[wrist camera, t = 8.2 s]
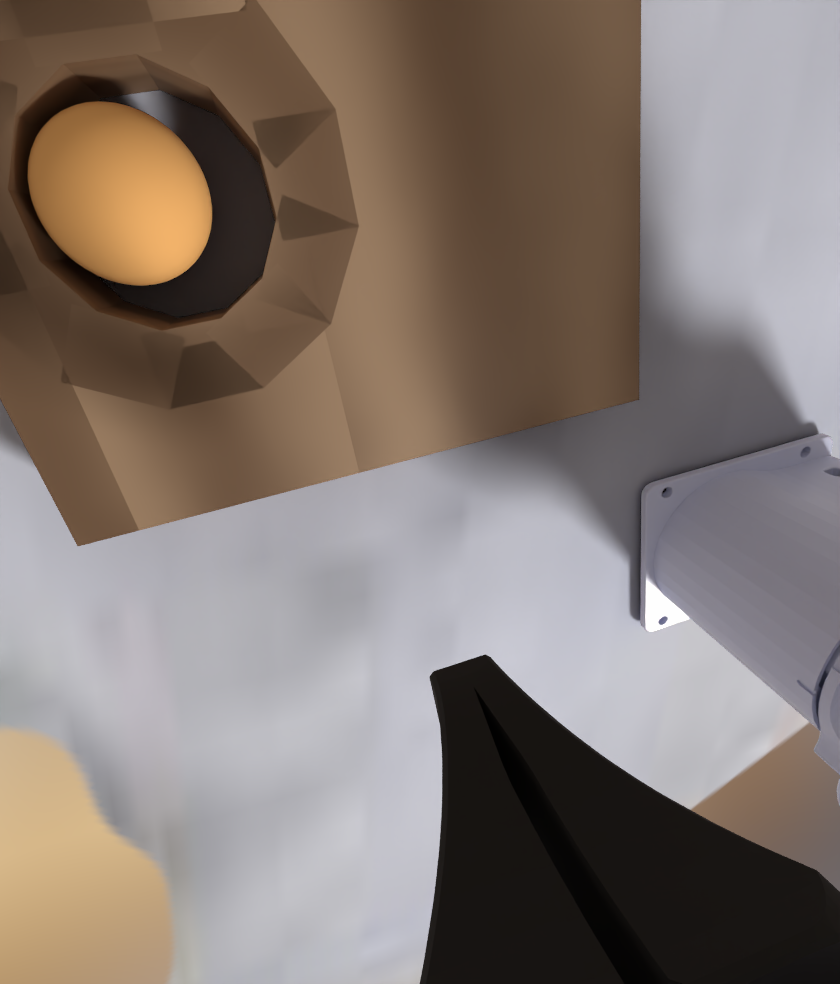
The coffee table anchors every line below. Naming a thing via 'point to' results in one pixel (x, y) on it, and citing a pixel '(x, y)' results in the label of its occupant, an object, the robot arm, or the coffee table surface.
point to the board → (331, 244)
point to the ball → (119, 193)
